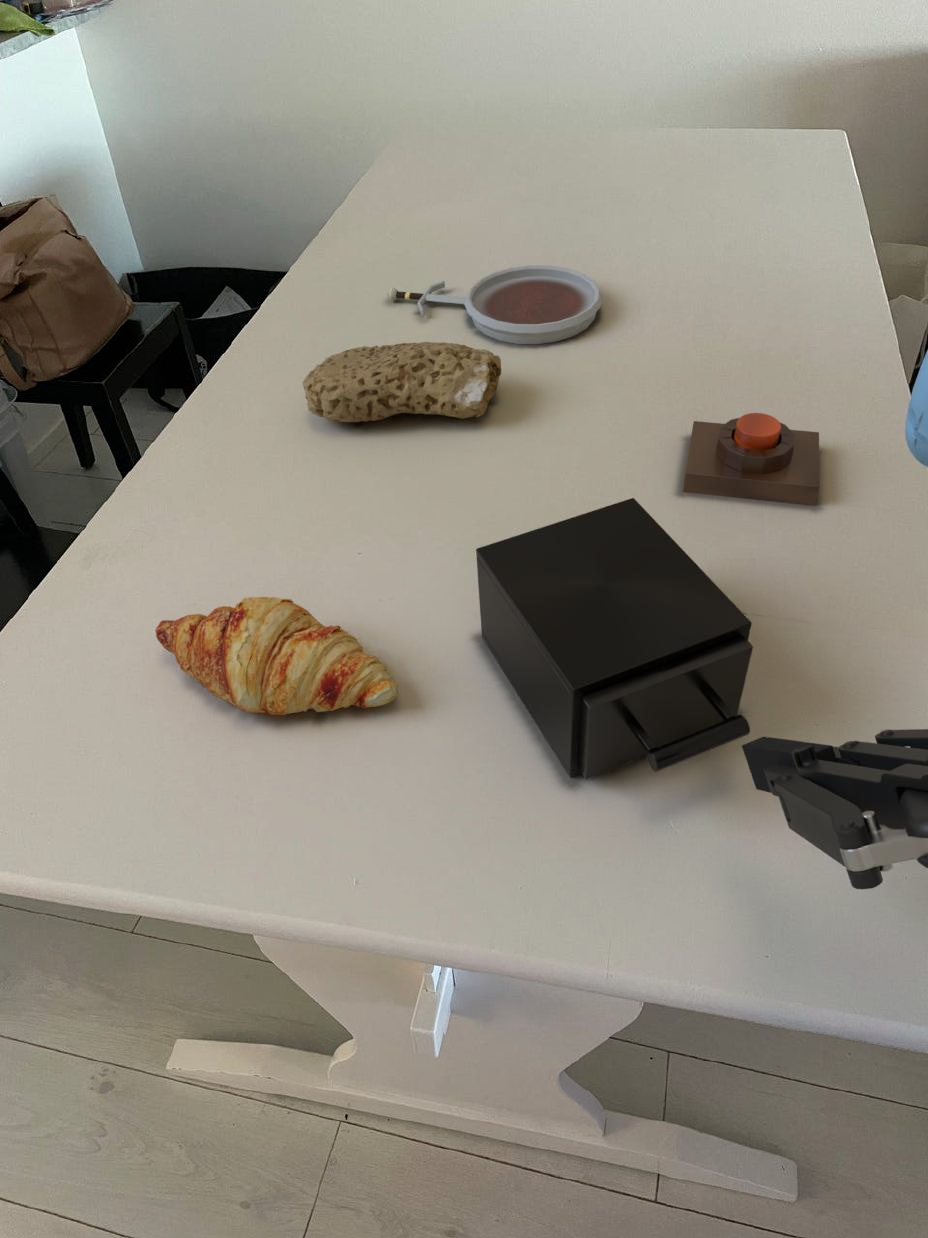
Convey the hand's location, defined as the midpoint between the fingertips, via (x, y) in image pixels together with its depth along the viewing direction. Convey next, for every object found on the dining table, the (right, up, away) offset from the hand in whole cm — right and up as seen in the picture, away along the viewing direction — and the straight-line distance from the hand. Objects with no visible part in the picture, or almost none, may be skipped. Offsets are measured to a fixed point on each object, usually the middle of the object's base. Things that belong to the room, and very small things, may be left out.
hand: (759, 762), depth 54 cm
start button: (+10, +25, +34) cm, 43 cm away
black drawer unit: (-7, +4, +19) cm, 20 cm away
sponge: (-24, +31, +48) cm, 62 cm away
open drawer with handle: (-5, +2, +16) cm, 17 cm away
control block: (+11, +23, +36) cm, 44 cm away
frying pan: (-14, +47, +63) cm, 80 cm away
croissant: (-32, +3, +21) cm, 38 cm away
